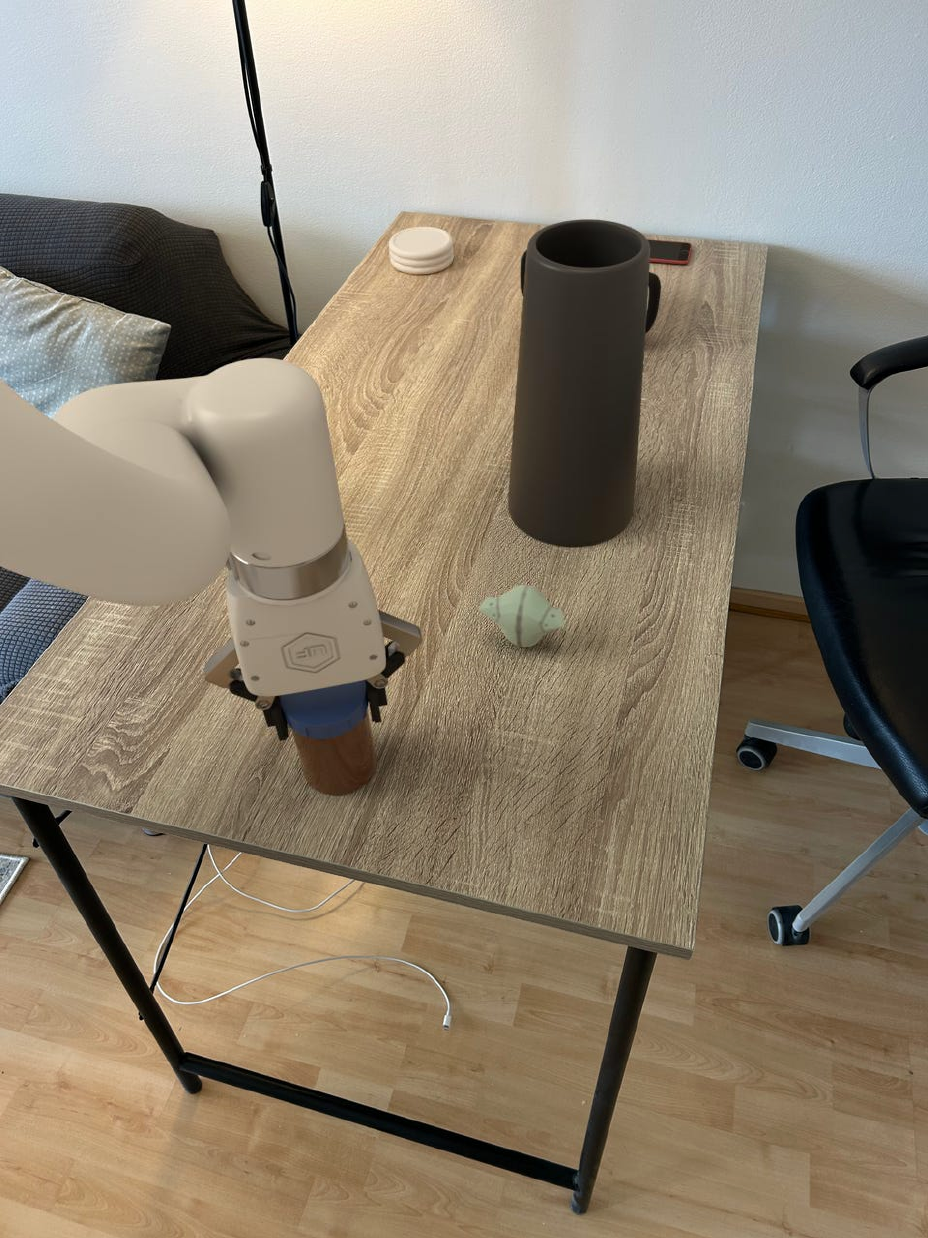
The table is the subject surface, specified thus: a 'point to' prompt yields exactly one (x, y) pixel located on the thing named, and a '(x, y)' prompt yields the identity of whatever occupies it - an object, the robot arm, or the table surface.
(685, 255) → the smartphone
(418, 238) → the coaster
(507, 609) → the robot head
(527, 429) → the vase
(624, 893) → the table surface
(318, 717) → the lid
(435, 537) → the table surface
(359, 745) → the jar
